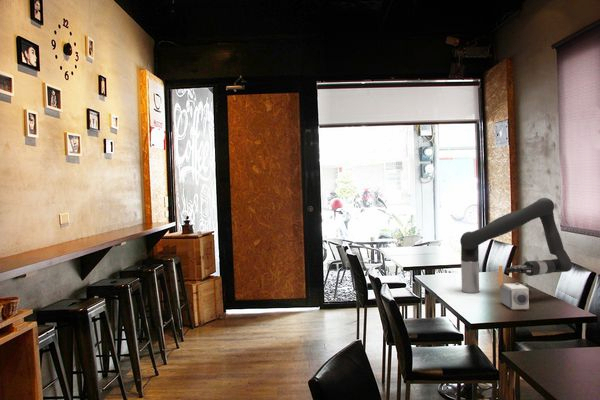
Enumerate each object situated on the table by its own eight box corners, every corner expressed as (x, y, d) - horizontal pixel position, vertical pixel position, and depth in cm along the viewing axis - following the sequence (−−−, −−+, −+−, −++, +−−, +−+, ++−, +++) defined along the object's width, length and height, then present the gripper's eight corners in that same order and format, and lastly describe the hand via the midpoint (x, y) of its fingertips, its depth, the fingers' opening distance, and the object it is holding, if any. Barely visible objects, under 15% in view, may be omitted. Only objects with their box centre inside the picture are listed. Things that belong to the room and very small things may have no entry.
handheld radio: (508, 302, 254) (526, 292, 273) (515, 303, 252) (532, 293, 270) (508, 289, 254) (526, 280, 272) (515, 290, 252) (532, 281, 270)
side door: (499, 301, 252) (498, 265, 251) (501, 301, 252) (501, 265, 251) (509, 307, 239) (508, 270, 238) (511, 307, 239) (510, 270, 238)
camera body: (502, 303, 251) (502, 281, 251) (519, 302, 251) (518, 281, 251) (513, 310, 237) (513, 287, 237) (530, 310, 237) (530, 287, 237)
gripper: (525, 258, 262) (497, 261, 256) (545, 262, 249) (516, 265, 244) (525, 273, 262) (498, 275, 257) (545, 277, 249) (516, 280, 244)
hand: (507, 270), depth 250 cm, fingers closed
